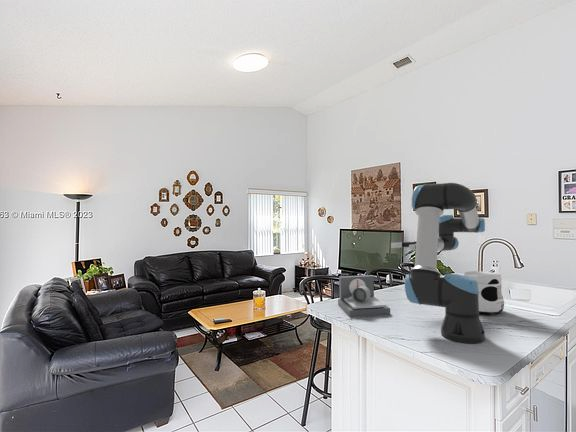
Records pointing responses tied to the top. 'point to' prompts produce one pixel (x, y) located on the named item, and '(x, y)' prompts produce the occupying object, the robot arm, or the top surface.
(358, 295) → the ceramic mug
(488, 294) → the white rounded piece
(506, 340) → the top surface
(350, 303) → the kitchen scale
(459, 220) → the robot arm
